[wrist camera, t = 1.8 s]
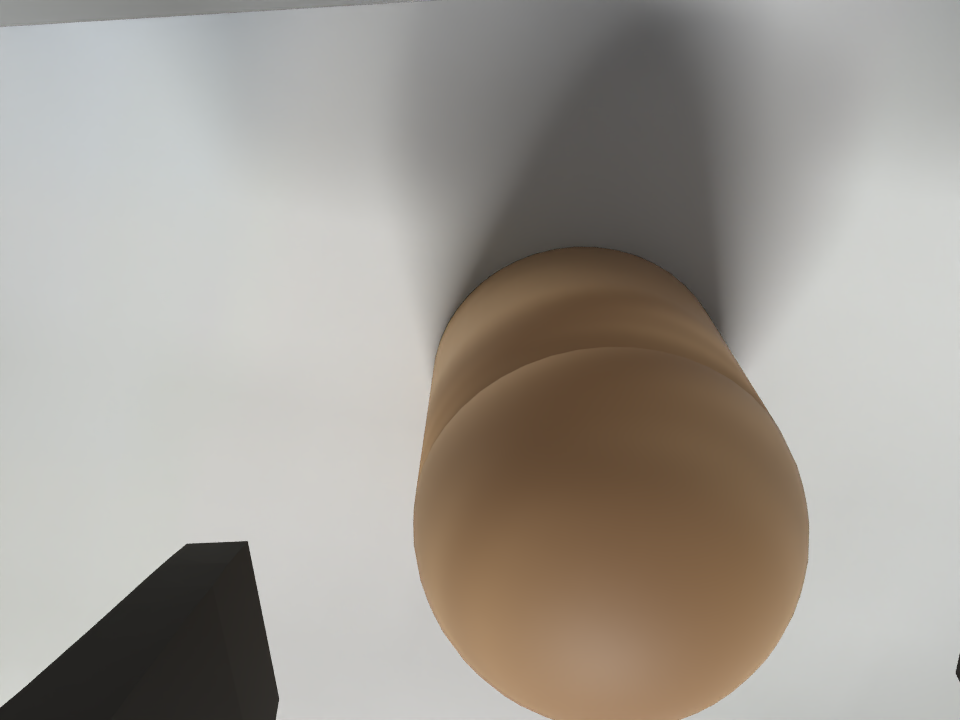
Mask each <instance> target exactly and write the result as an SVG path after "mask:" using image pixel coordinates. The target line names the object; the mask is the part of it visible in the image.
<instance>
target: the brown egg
mask: <svg viewBox="0 0 960 720" xmlns="http://www.w3.org/2000/svg"><path fill="white" fill-rule="evenodd" d="M413 528H414V548H415V553H416V559H417V564H418V569H419V574H420V579H421V583H422V586H423V588H424V591H425V594H426V597H427V600H428V602H429V604H430V607H431V609H432V611H433V614H434V616H435V617H436V619H437V621H438V623H439V625H440V627H441V629H442V631H443V632H444V634H445V635H446V636H447V638H448V639H449V641H450V642H451V643H452V645H453V646H454V647H455V649H456V650H457V651H458V653H459V654H460V655H461V657H462V658H463V660H464V661H465V662H466V663H467V664H468V665H469V666H470V667H471V668H472V669H473V670H474V671H475V672H476V673H477V674H478V675H479V676H480V677H481V678H483V679H484V680H485V681H486V682H487V683H489V684H490V685H491V686H492V687H494V688H495V689H496V690H498V691H499V692H500V693H501V694H503V695H504V696H505V697H507V698H509V699H510V700H512V701H514V702H515V703H517V704H519V705H520V706H523V707H525V708H527V709H529V710H531V711H533V712H536V713H538V714H540V715H542V716H545V717H547V718H550V719H553V720H680V719H683V718H685V717H688V716H691V715H693V714H696V713H698V712H700V711H702V710H704V709H706V708H708V707H710V706H712V705H714V704H715V703H717V702H718V701H720V700H721V699H723V698H724V697H726V696H727V695H729V694H730V693H731V692H733V691H734V690H735V689H736V688H737V687H739V686H740V685H741V684H742V683H743V682H744V681H746V680H747V679H748V678H749V677H750V676H751V675H752V674H753V673H754V672H755V671H756V670H757V669H758V668H759V667H760V666H761V665H762V664H763V663H764V661H765V660H766V659H767V658H768V656H769V655H770V653H771V652H772V651H773V649H774V648H775V647H776V645H777V643H778V642H779V640H780V638H781V637H782V635H783V633H784V631H785V629H786V627H787V626H788V624H789V622H790V620H791V618H792V616H793V614H794V611H795V609H796V606H797V603H798V600H799V598H800V594H801V591H802V587H803V583H804V579H805V574H806V568H807V563H808V547H809V519H808V511H807V503H806V498H805V493H804V489H803V485H802V481H801V478H800V475H799V471H798V468H797V465H796V463H795V461H794V458H793V456H792V454H791V452H790V450H789V448H788V446H787V444H786V442H785V440H784V438H783V435H782V433H781V431H780V430H779V428H778V426H777V425H776V423H775V422H774V420H773V418H772V417H771V415H770V414H769V412H768V410H767V409H766V407H765V406H764V404H763V402H762V401H761V399H760V398H759V396H758V394H757V393H756V391H755V390H754V388H753V386H752V385H751V383H750V382H749V380H748V378H747V377H746V375H745V374H744V372H743V370H742V369H741V367H740V365H739V364H738V362H737V361H736V359H735V357H734V356H733V354H732V353H731V351H730V349H729V348H728V346H727V345H726V343H725V341H724V340H723V338H722V337H721V335H720V333H719V332H718V330H717V329H716V327H715V325H714V324H713V322H712V321H711V319H710V317H709V316H708V314H707V313H706V311H705V310H704V308H703V307H702V305H701V304H700V302H699V301H698V300H697V298H696V297H695V296H694V295H693V294H692V293H691V292H690V291H689V289H688V288H687V287H686V286H685V285H684V284H683V283H681V282H680V281H679V280H678V279H676V278H675V277H674V276H673V275H671V274H670V273H669V272H667V271H666V270H664V269H662V268H661V267H659V266H657V265H656V264H654V263H652V262H650V261H647V260H645V259H643V258H640V257H638V256H636V255H632V254H629V253H625V252H621V251H618V250H613V249H606V248H599V247H569V248H561V249H554V250H549V251H545V252H541V253H537V254H534V255H531V256H529V257H526V258H523V259H521V260H518V261H516V262H514V263H512V264H510V265H508V266H506V267H505V268H503V269H501V270H499V271H498V272H496V273H495V274H493V275H492V276H491V277H489V278H488V279H486V280H485V281H483V282H482V283H481V284H480V285H479V286H478V287H477V288H476V289H475V290H474V291H473V292H472V293H470V294H469V295H468V297H467V298H466V299H465V300H464V301H463V303H462V304H461V305H460V306H459V308H458V309H457V310H456V312H455V313H454V315H453V317H452V318H451V320H450V321H449V323H448V325H447V327H446V329H445V331H444V334H443V336H442V338H441V340H440V343H439V347H438V350H437V354H436V358H435V364H434V371H433V378H432V384H431V391H430V398H429V405H428V412H427V419H426V426H425V433H424V440H423V447H422V454H421V461H420V468H419V475H418V481H417V488H416V496H415V504H414V520H413Z"/></svg>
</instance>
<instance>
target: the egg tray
mask: <svg viewBox="0 0 960 720" xmlns="http://www.w3.org/2000/svg"><path fill="white" fill-rule="evenodd" d="M416 1H433V0H0V27H6V26H22V25H38V24H55V23H71V22H88V21H104V20H121V19H137V18H153V17H170V16H186V15H203V14H219V13H236V12H252V11H268V10H285V9H301V8H318V7H334V6H350V5H367V4H383V3H400V2H416Z"/></svg>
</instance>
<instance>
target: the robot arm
mask: <svg viewBox="0 0 960 720" xmlns="http://www.w3.org/2000/svg"><path fill="white" fill-rule="evenodd" d="M956 675H957V677H958V679H959V681H960V655H959V660H958V664H957V669H956ZM278 702H279V696H278V691H277V686H276V681H275V676H274V671H273V666H272V661H271V656H270V651H269V646H268V641H267V636H266V631H265V626H264V621H263V616H262V611H261V606H260V601H259V596H258V591H257V586H256V581H255V576H254V571H253V566H252V561H251V556H250V551H249V546H248V541H241V542H218V543H196V544H186V545H185V546H184V547H182V548H181V549H180V550H179V551H177V552H176V553H175V554H174V555H173V556H171V557H170V558H169V559H168V560H167V561H166V562H164V563H163V564H162V565H161V566H160V567H159V568H158V569H156V570H155V571H154V572H153V573H152V574H151V575H150V576H149V577H148V578H146V579H145V580H144V581H143V582H142V583H141V584H140V585H139V586H138V587H136V588H135V589H134V590H133V591H132V592H131V593H130V594H129V595H128V596H126V597H125V598H124V599H123V600H122V601H121V602H120V603H119V604H118V605H117V606H115V607H114V608H113V609H112V610H111V611H110V612H109V613H108V614H107V615H106V616H104V617H103V618H102V619H101V620H100V621H99V622H98V623H97V624H96V625H94V626H93V627H92V628H91V629H90V630H89V631H88V632H87V633H85V634H84V635H83V636H82V637H81V638H80V639H79V640H78V641H76V642H75V643H74V644H73V645H72V646H71V647H70V648H68V649H67V650H66V651H65V652H64V653H63V654H62V655H61V656H59V657H58V658H57V659H56V660H55V661H54V662H53V663H52V664H50V665H49V666H48V667H47V668H46V669H45V670H44V671H42V672H41V673H40V674H39V675H38V676H37V677H36V678H35V679H33V680H32V681H31V682H30V683H29V684H28V685H27V686H26V687H24V688H23V689H22V690H21V691H20V692H19V693H17V694H16V695H15V696H14V697H13V698H11V699H10V700H9V701H8V702H7V703H5V704H4V705H3V706H2V707H0V720H276V714H277V708H278Z"/></svg>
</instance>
